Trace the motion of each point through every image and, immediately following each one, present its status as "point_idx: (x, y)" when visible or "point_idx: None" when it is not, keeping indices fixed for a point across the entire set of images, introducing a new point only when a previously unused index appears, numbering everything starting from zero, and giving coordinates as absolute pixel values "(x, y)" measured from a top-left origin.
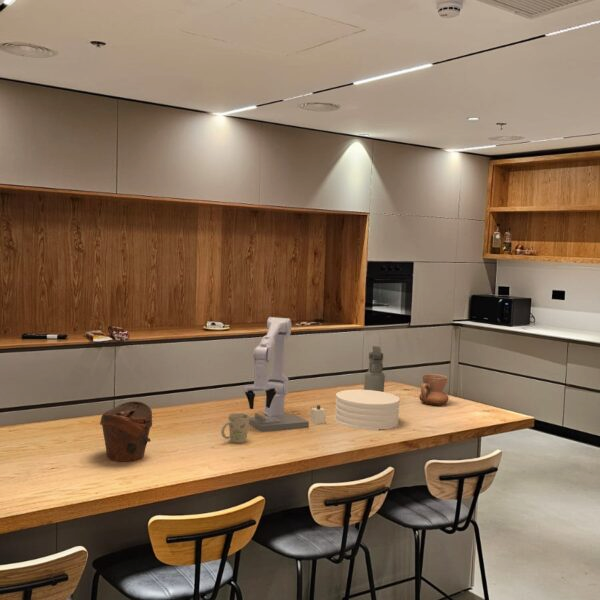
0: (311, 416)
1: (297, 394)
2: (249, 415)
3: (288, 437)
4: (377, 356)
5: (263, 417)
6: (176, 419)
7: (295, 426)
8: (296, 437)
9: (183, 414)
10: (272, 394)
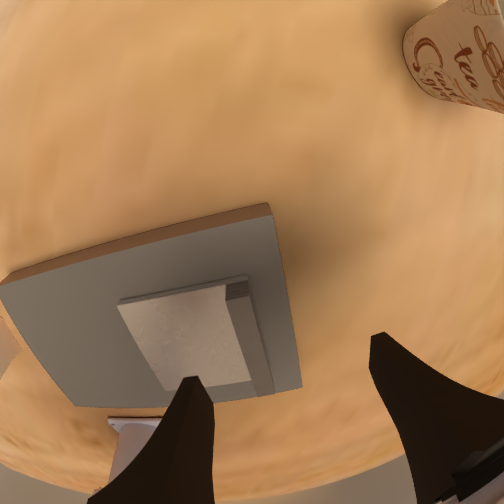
0: (7, 358)
1: None
2: (499, 9)
3: (115, 73)
4: None
5: (241, 315)
6: (478, 370)
7: (49, 264)
8: (71, 79)
9: None
10: (135, 500)
